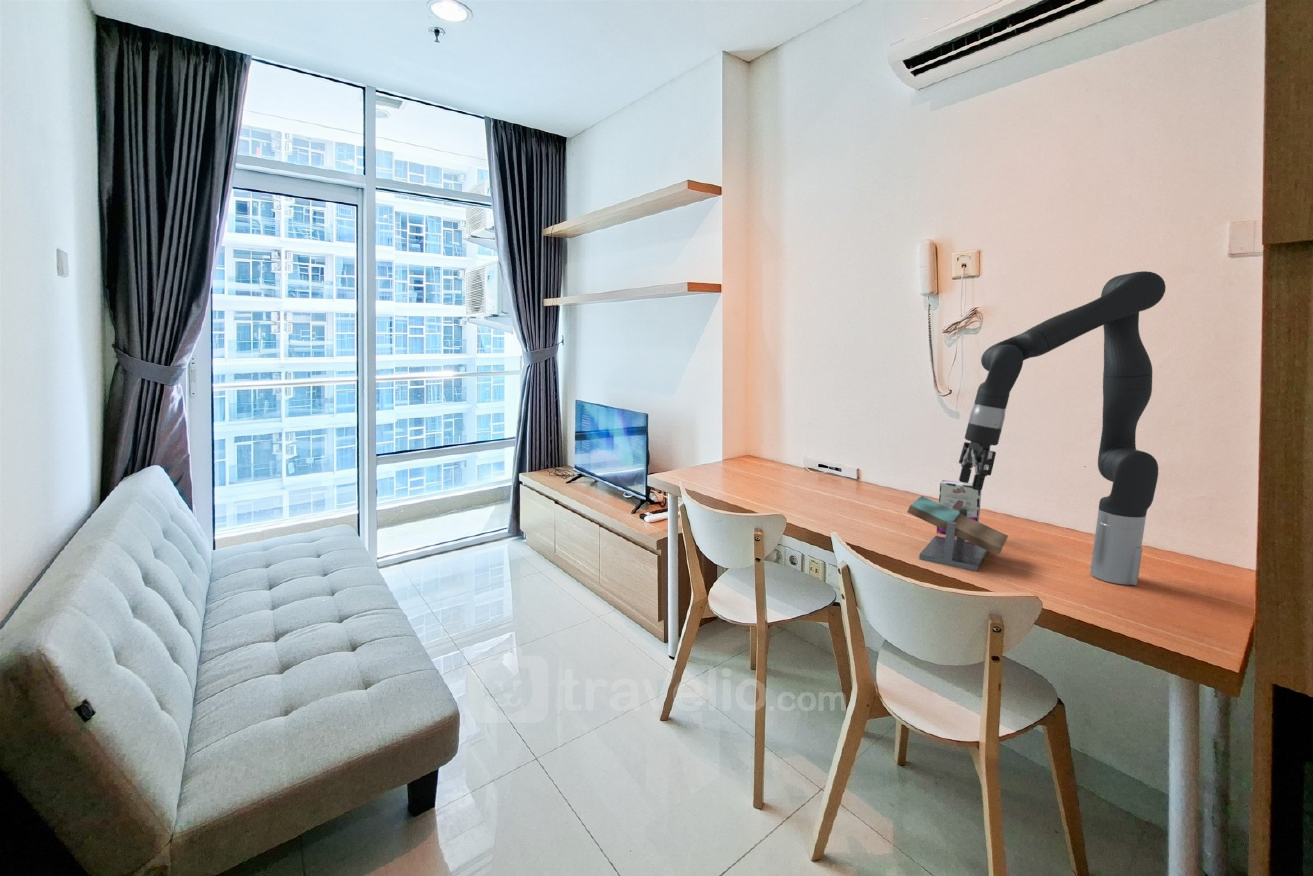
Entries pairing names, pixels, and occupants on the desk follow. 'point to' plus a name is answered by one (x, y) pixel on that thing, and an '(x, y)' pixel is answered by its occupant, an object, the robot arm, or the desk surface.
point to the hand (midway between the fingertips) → (969, 485)
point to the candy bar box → (960, 498)
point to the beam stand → (954, 549)
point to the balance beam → (959, 524)
